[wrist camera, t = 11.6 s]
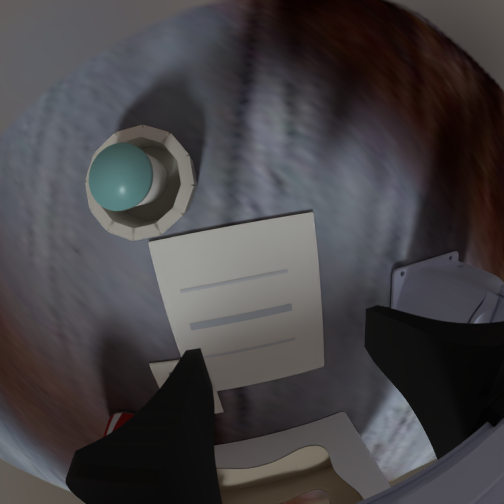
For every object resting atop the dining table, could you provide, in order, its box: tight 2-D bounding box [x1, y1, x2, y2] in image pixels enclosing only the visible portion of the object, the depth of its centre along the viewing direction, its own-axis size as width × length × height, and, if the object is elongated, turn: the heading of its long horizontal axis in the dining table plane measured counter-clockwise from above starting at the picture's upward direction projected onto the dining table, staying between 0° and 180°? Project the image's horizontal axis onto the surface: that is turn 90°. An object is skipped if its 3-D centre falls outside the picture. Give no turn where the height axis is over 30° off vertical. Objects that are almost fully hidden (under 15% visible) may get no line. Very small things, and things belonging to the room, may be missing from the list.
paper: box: [148, 212, 324, 392], centre depth 21 cm, size 12×14×1 cm
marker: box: [89, 143, 168, 211], centre depth 14 cm, size 3×3×7 cm
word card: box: [149, 359, 224, 414], centre depth 22 cm, size 5×7×1 cm
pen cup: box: [85, 125, 197, 241], centre depth 16 cm, size 6×6×4 cm
